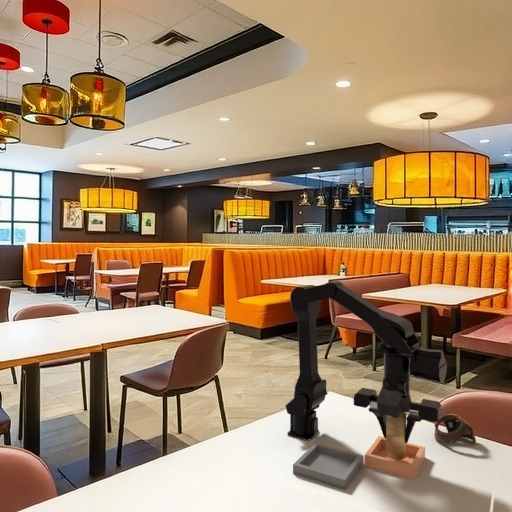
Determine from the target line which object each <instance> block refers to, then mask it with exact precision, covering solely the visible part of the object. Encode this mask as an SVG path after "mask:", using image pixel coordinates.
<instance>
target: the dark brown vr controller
mask: <svg viewBox="0 0 512 512" xmlns="http://www.w3.org/2000/svg"><path fill="white" fill-rule="evenodd" d="M441 423H443V424H444V426H445V429H446V432H445V431H441V430H440V429H439V426H440V425H441ZM433 426H434V427H435V428H434V440H435V442H441V443H444V444H445V443H446V444H450V443H451V444H453V443H456V442H461V443H465V439H468V440H471V441H472V442H473V444H474V445H477V439H476V436H475V435H474V431H473V427H472V425H471V424H470V423H469V422H468V421H467V420H465V419H464V418H462V417H461V416H460V415H458V414H456V413H452V412H451V411H446V412H444V413H443V415H442V414H441V415H440V418H439V420H438V422H434V425H433ZM464 438H465V439H464Z"/></svg>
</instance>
